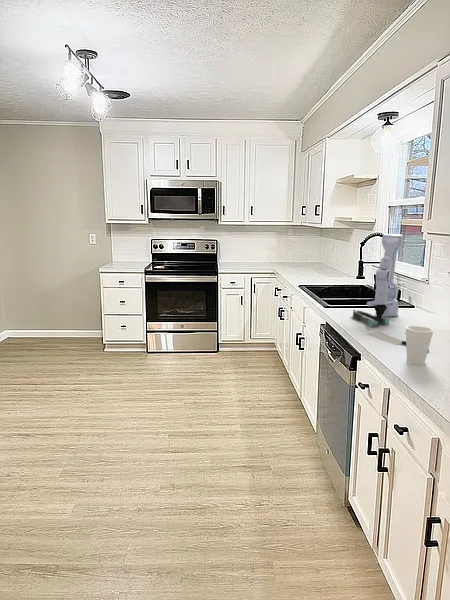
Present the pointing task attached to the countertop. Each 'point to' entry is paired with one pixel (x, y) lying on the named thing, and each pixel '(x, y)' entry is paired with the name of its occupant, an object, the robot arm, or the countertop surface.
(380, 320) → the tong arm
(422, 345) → the foam cup
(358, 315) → the tongs fixed arm
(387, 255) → the robot arm
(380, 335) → the kitchen cleaver
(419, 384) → the countertop surface
